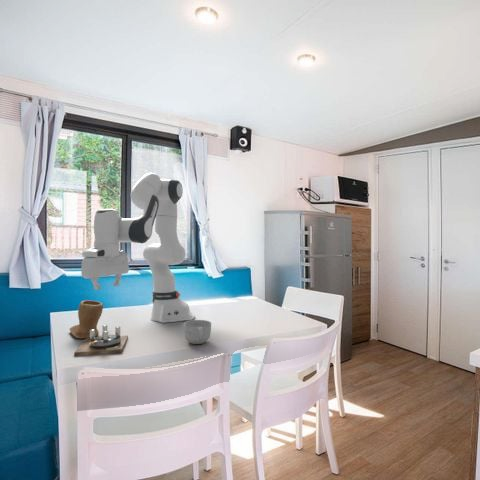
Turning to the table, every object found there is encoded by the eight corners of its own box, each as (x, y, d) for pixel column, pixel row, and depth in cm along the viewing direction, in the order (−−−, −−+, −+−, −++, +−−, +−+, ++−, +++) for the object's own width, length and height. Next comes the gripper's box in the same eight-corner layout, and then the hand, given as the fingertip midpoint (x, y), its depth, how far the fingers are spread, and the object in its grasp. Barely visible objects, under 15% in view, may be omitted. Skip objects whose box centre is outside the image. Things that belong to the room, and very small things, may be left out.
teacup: (185, 338, 137) (185, 319, 137) (211, 337, 138) (211, 318, 138) (182, 349, 123) (182, 328, 123) (211, 348, 124) (211, 327, 124)
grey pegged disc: (119, 337, 133) (119, 323, 133) (121, 345, 123) (121, 330, 123) (89, 340, 128) (89, 326, 128) (88, 349, 118) (88, 334, 118)
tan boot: (106, 337, 139) (105, 301, 139) (75, 342, 132) (74, 305, 132) (97, 329, 152) (97, 296, 151) (69, 333, 145) (68, 299, 145)
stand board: (127, 339, 136) (127, 334, 136) (121, 353, 120) (121, 348, 119) (86, 341, 133) (86, 337, 133) (74, 356, 116) (74, 351, 116)
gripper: (120, 250, 135) (120, 283, 135) (78, 252, 116) (78, 291, 117) (132, 250, 133) (132, 284, 133) (91, 252, 114) (91, 292, 114)
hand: (107, 287), depth 125 cm, fingers open, 8 cm apart
